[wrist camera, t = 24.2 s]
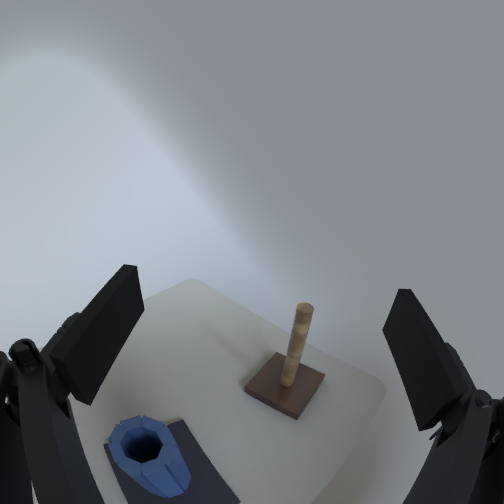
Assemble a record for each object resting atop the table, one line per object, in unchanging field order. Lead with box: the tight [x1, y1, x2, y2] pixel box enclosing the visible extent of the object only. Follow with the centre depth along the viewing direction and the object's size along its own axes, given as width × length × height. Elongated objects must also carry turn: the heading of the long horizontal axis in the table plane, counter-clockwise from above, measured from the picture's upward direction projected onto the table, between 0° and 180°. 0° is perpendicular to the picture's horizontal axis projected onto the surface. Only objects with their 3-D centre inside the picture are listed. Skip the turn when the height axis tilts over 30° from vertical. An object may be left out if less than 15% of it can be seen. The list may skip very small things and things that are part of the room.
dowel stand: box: [244, 303, 325, 420], centre depth 34 cm, size 9×9×16 cm
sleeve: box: [108, 416, 191, 498], centre depth 20 cm, size 6×6×11 cm
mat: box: [104, 420, 241, 504], centre depth 22 cm, size 14×12×1 cm
